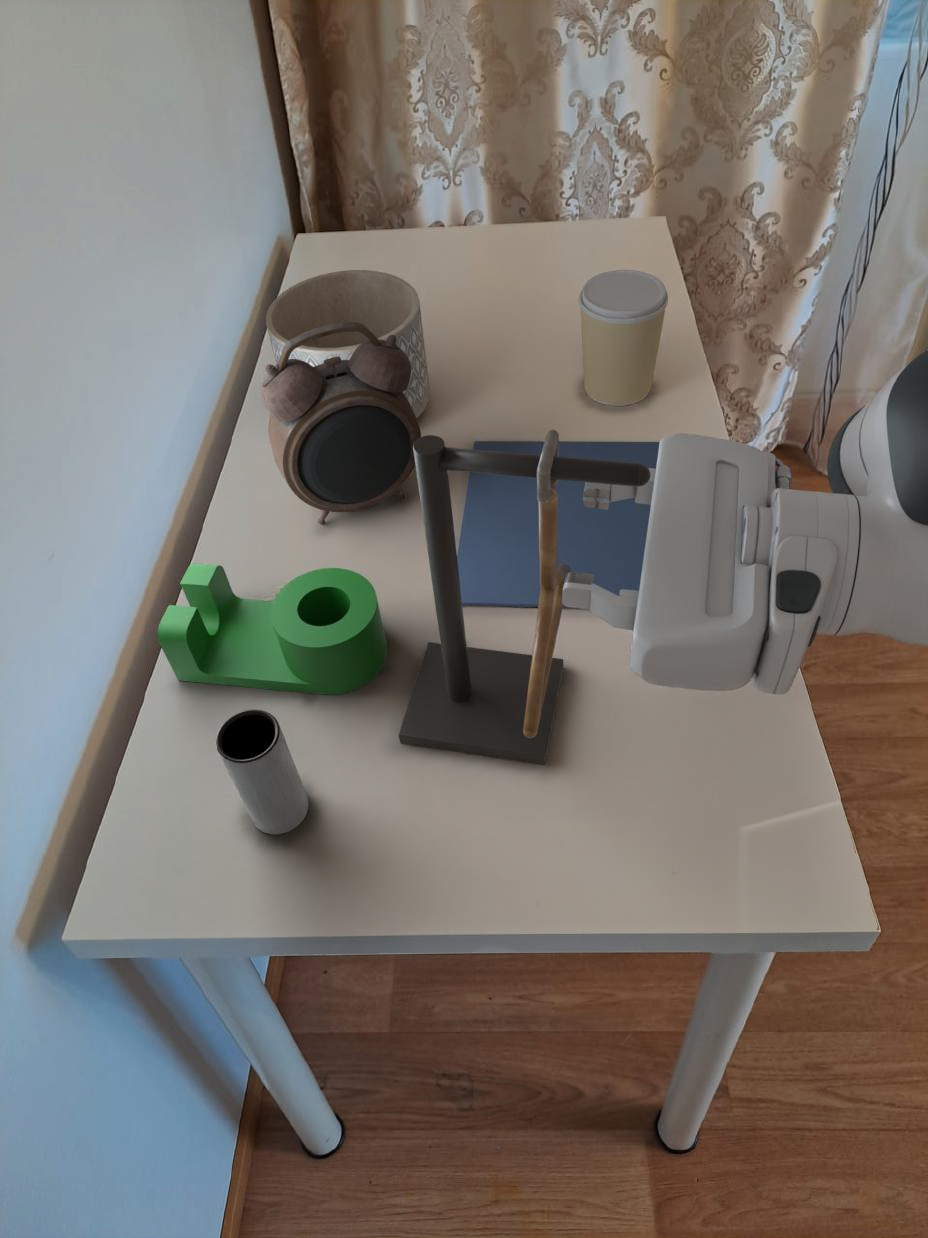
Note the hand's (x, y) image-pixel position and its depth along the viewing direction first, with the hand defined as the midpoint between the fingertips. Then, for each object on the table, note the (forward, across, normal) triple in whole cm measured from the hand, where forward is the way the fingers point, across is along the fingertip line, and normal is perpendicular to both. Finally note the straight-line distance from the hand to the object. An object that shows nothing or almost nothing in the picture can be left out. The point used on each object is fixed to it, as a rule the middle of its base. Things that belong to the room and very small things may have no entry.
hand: (574, 537), depth 60 cm
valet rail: (+4, 0, +20) cm, 21 cm away
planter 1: (+21, +13, +20) cm, 32 cm away
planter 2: (+30, -39, +20) cm, 53 cm away
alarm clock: (+25, -23, +20) cm, 40 cm away
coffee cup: (+1, -47, +20) cm, 51 cm away
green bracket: (+26, -2, +20) cm, 33 cm away
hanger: (+2, 0, +11) cm, 12 cm away
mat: (+3, -24, +20) cm, 31 cm away
